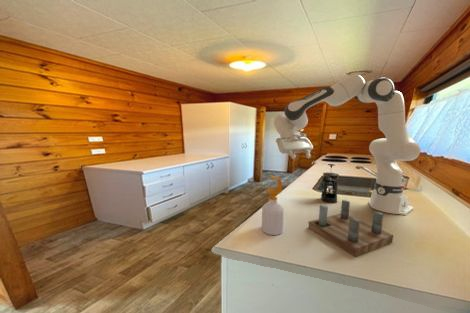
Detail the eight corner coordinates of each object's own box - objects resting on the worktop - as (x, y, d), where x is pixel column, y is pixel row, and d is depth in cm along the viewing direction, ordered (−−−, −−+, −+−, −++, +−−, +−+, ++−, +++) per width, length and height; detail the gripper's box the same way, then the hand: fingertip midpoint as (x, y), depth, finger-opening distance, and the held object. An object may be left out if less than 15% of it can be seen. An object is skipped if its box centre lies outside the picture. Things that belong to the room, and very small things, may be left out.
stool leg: (321, 227, 88) (323, 204, 87) (327, 231, 86) (329, 207, 84) (316, 229, 87) (318, 205, 86) (322, 232, 84) (324, 208, 83)
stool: (342, 218, 97) (343, 197, 96) (392, 242, 77) (395, 215, 76) (308, 227, 88) (309, 204, 87) (355, 256, 68) (358, 227, 67)
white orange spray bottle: (259, 225, 90) (260, 173, 87) (279, 224, 91) (280, 173, 88) (264, 236, 81) (265, 178, 78) (285, 235, 82) (288, 177, 79)
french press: (330, 204, 116) (333, 166, 113) (316, 199, 124) (319, 163, 121) (342, 201, 122) (345, 164, 119) (328, 196, 130) (330, 162, 126)
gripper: (277, 134, 101) (289, 155, 94) (307, 133, 110) (320, 153, 102) (272, 142, 106) (282, 162, 99) (301, 141, 114) (313, 160, 107)
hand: (302, 158), depth 100 cm, fingers open, 8 cm apart
